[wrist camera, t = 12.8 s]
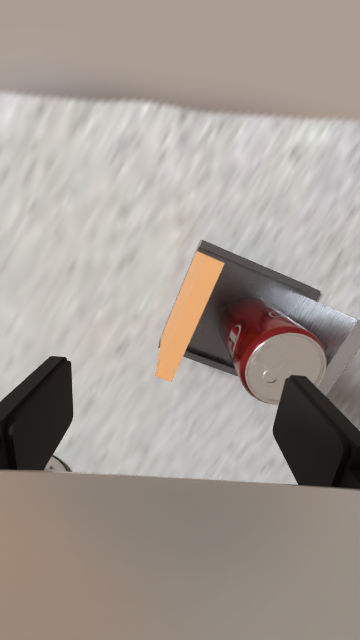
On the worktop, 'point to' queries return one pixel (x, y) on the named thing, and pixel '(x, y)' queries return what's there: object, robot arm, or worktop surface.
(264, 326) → the soda can
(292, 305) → the clamp bed
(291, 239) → the worktop surface
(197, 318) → the sliding jaw
